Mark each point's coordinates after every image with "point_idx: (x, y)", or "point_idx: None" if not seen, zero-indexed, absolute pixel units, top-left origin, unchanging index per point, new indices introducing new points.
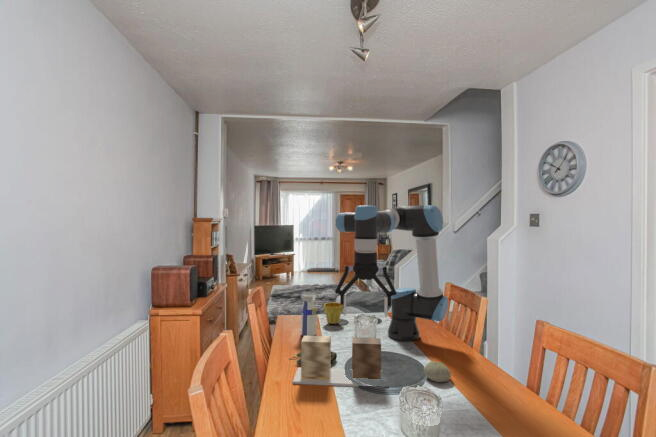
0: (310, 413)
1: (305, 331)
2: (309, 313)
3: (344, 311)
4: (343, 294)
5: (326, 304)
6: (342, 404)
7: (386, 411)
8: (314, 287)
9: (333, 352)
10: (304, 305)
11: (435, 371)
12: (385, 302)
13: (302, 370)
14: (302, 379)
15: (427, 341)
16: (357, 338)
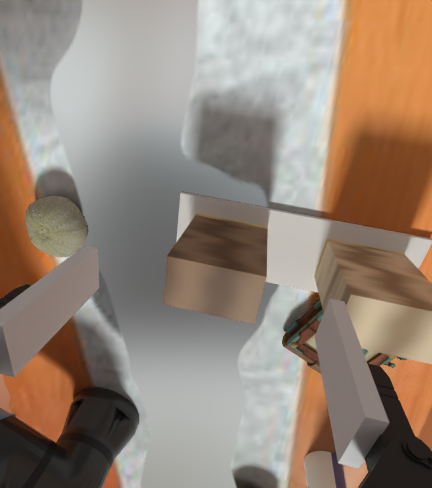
0: (420, 78)
1: (336, 466)
2: None
3: (345, 318)
4: (397, 441)
5: None
6: (317, 121)
7: (210, 79)
8: None
9: (294, 344)
10: None
11: (55, 209)
12: (35, 297)
13: (409, 263)
14: (402, 247)
15: (61, 377)
16: (239, 311)
